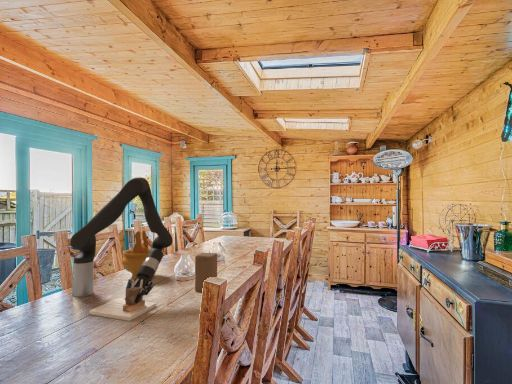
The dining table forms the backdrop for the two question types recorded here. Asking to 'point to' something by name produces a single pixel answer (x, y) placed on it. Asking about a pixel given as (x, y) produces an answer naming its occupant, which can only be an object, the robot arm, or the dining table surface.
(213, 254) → the wooden block
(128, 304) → the block
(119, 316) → the board
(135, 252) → the mustard brown vase
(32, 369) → the dining table surface
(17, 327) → the dining table surface
